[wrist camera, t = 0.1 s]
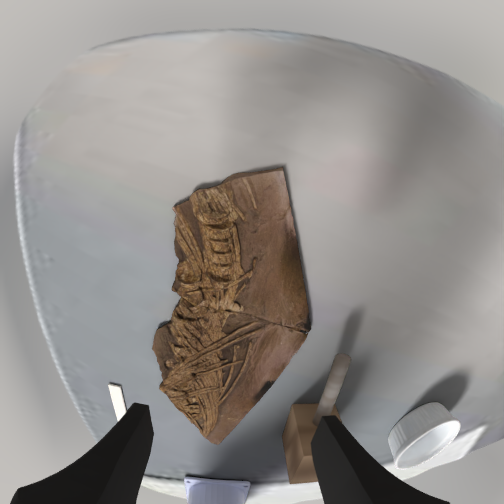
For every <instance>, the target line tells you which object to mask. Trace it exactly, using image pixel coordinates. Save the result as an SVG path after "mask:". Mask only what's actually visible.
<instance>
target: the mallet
mask: <svg viewBox="0 0 504 504" xmlns="http://www.w3.org/2000/svg"><path fill="white" fill-rule="evenodd" d="M350 362H351V357H350V356H348V355H346V354H343V353H340V354H337V355H336V356H335V359H334V362H333V365H332V368H331V371H330V374H329V377H328V380H327V383H326V386H325V389H324V391H323V394H322V397H321V400H320V402H319V403H314V404H292V406H291V410H290V413H289V416H288V419H287V422H286V426H285V429H284V432H283V435H282V439H283V445H284V451H285V457H286V463H287V470H288V476H289V482H290V484H297V483H309V482H318V479H317V475H316V471H315V468H314V464H313V459H312V451H311V441H312V438H313V436H314V434H315V432H316V429H317V427H318V424H319V422H320V420H321V417H322V416H329V415H336V416H337V418H338V419H339V420H340V421H341V419H340V416H339V414H338V411H337V408H336V406H335V402H336V399H337V397H338V394H339V392H340V389H341V387H342V384H343V381H344V379H345V376H346V373H347V371H348V368H349V365H350ZM341 423H342V421H341Z"/></svg>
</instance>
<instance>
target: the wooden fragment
mask: <svg viewBox="0 0 504 504" xmlns="http://www.w3.org/2000/svg"><path fill="white" fill-rule="evenodd" d="M172 209H173V211H174V212H175V213H176V217H175V221H174V225H175V227H176V228H175V232H176V237H175V241H174V244H175V253H176V256H177V257H178V258H179V263H178V265H177V267H178V269H177V270H176V277H175V281H174V284H173V286H172V291H174V292H177V293H178V294H179V296H181V299H180V300H179V302H178V305H177V306H176V308H175V310H174V311H173V313H172V318H171V322H168V323H167V324H166V325H164V326H162V328H159V329H157V331H156V334H155V336H154V342H153V347H152V350H153V351H154V352H155V355H156V356H157V362H158V363H159V365H160V370H161V371H162V378H163V383H161V384H160V388H159V389H160V390H161V391H162V392H163V393H165V394H166V395H167V396H168V398H169V399H170V401H171V402H172V403H173V404H174V405H175V407H176V408H177V409H178V410H179V411H181V412H182V413H183V414H184V415H185V416H186V417H187V418H188V420H190V421H191V423H193V424H194V425H195V426H196V427H197V428H199V430H200V433H201V434H202V435H203V436H204V437H205V438H206V439H208V440H209V441H210V442H211V443H214V444H217V445H218V444H220V443H221V442H222V440H223V439H224V438H225V437H226V436H227V435H228V434H229V433H230V432H231V431H232V430H233V429H234V428H235V427H236V426H237V424H238V423H239V422H240V421H241V420H242V419H243V418H244V417H245V415H246V414H247V413H248V412H249V411H250V410H251V408H252V407H253V406H255V404H256V403H257V402H258V401H259V400H260V399H261V398H262V397H263V395H264V394H265V393H266V392H267V391H268V389H269V388H270V387H271V386H272V385H273V384H274V382H275V381H276V379H277V378H278V377H279V376H280V374H281V373H282V372H283V370H284V369H285V367H286V366H287V365H288V364H289V362H290V360H291V358H292V356H293V355H294V354H295V353H297V351H298V350H299V348H300V347H301V345H302V344H303V343H304V341H305V340H306V338H307V335H308V333H307V334H305V333H302V332H300V330H304V331H305V332H306V331H307V332H309V331H310V330H311V323H310V319H309V310H308V305H307V298H306V291H305V285H304V281H303V274H302V267H301V261H300V256H299V250H298V242H297V239H296V233H295V228H294V226H293V225H294V223H293V221H294V220H293V217H292V215H291V207H290V203H289V196H288V191H287V187H286V181H285V177H284V172H283V167H281V168H277V169H271V170H265V171H258V172H250V173H236V174H233V175H231V176H229V177H228V178H226V179H225V180H224V181H223V182H222V184H220V185H217V186H214V187H210V188H206V189H198V190H196V191H195V192H194V193H192V195H191V196H190V200H188V201H185V202H183V203H181V204H179V205H176V206H174V207H173V208H172Z"/></svg>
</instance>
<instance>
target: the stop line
mask: <svg viewBox="0 0 504 504" xmlns="http://www.w3.org/2000/svg"><path fill="white" fill-rule="evenodd" d="M108 386H109V390H110V394H111V398H112V401H113V405H114V409H115V412H116V416H117V419H118V421H119V420H120V419H121V418H122V417H123V415H124V414H125V413H126V412H127V411H126V407H125V402H124V398H123V394H122V389H121V386H118V385H113V384H108Z"/></svg>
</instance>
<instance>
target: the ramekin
mask: <svg viewBox="0 0 504 504" xmlns="http://www.w3.org/2000/svg"><path fill="white" fill-rule="evenodd" d="M459 430H460V421H459V420H458V419H456V418H455V417H453V416H452V414H451V413H450V412H449V411H448V410H447V409H446V408H445V407H444V406H443V405H442V404H440V403H438V402H432V403H428V404H425V405H422V406H420V407H418V408H416V409H414V410H413V411H411V412H410V413H408V414H407V415H406V416H404V417H403V418H402V419H401V420H400V421H399V422H398V423H397V424H396V425H395V426H394V427H393V429H392V430H391V432H390V434H389V438H388V442H389V445H390V448H391V451H392V454H393V457H394V465H395V467H396V468H398V469H409V468H413V467H416V466H418V465H421V464H423V463H425V462H426V461H428V460H430V459H432V458H433V457H435V456H436V455H437V454H439V453H440V452H441V451H442V450H444V449H445V448H446V447H447V446H448V445H449V444H450V443H451V442H452V441H453V439H454V438H455V437H456V435H457V434H458V432H459Z"/></svg>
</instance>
